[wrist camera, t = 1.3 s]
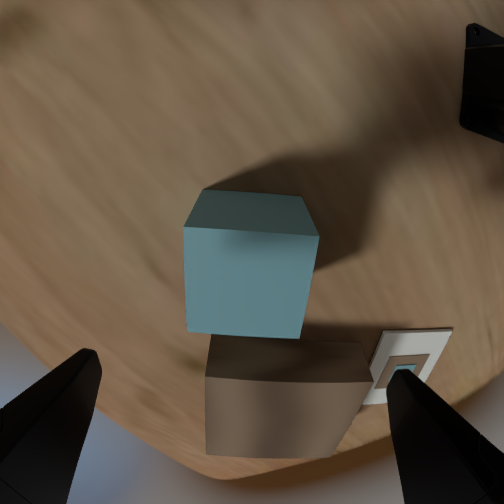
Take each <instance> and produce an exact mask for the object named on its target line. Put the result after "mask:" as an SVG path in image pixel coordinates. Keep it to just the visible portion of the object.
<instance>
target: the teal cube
mask: <svg viewBox="0 0 504 504" xmlns="http://www.w3.org/2000/svg"><path fill="white" fill-rule="evenodd" d="M319 237H320V236H319V234H318V232H317V230H316V227H315V225H314V223H313V221H312V218H311V216H310V214H309V212H308V209H307V207H306V205H305V203H304V201H303V199H302V197H301V196H290V195H278V194H266V193H253V192H239V191H223V190H206V189H203V190H202V192H201V194H200V195H199V197H198V199H197V201H196V203H195V205H194V207H193V209H192V211H191V213H190V215H189V217H188V219H187V221H186V223H185V225H184V273H185V300H186V320H187V332H196V333H208V334H220V335H234V336H250V337H269V338H293V339H299V338H300V334H301V329H302V324H303V320H304V315H305V310H306V305H307V300H308V295H309V290H310V285H311V280H312V275H313V270H314V264H315V259H316V254H317V248H318V242H319Z"/></svg>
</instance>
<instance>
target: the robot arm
mask: <svg viewBox="0 0 504 504" xmlns="http://www.w3.org/2000/svg"><path fill="white" fill-rule="evenodd" d="M473 29H475V31H476V34H475V33H474V31H473ZM462 90H463V93H462V102H461V110H460V118H459V122H460V125H461V126H462V128H464V129H466V130H469V131H472V132H475V133H478V134H481V135H483V136H486V137H489V138H491V139H494V140H497V141H499V142H502V143H504V38H502V37H500V36H498V35H497V34H495V33H493V32H491V31H489V30H488V29H486V28H484V27H482V26H480V25H478V24H476V23H472V24H468V25H467V27H466V49H465V59H464V74H463V86H462ZM467 118H469V124H467ZM101 377H102V368H101V364H100V361H99V358H98V355H97V352H96V351H95V350H92V349H87V348H83V349H81V350H79V351H78V352H77V353H75V354H74V355H72V356H71V357H70V358H68V359H67V360H66V361H64V362H63V363H61V364H60V365H59V366H57V367H56V368H55V369H53V370H52V371H51V372H49V373H48V374H47V375H45V376H44V377H42V378H41V379H40V380H38V381H37V382H36V383H34V384H33V385H32V386H30V387H29V388H28V389H26V390H25V391H24V392H22V393H21V394H20V395H18V396H17V397H16V398H14V399H13V400H12V401H10V402H9V403H7V404H6V405H5V406H4V407H3V408H1V409H0V504H66V503H67V499H68V495H69V491H70V488H71V484H72V480H73V477H74V473H75V470H76V467H77V463H78V460H79V457H80V453H81V450H82V447H83V444H84V441H85V438H86V434H87V432H88V428H89V425H90V422H91V419H92V416H93V411H94V407H95V402H96V398H97V394H98V389H99V385H100V381H101ZM386 397H387V404H388V413H389V421H390V430H391V436H392V441H393V446H394V450H395V455H396V460H397V465H398V470H399V475H400V480H401V485H402V491H403V497H404V502H405V504H504V453H503V452H501V451H500V450H499V449H498V448H496V447H495V446H494V445H493V444H492V443H491V442H490V441H488V440H487V439H486V438H485V437H484V436H483V435H480V432H478V431H477V430H476V429H475V428H474V427H473V426H472V425H471V424H470V423H469V422H467V421H466V420H465V419H464V418H463V417H462V416H461V415H460V414H459V413H458V412H456V411H455V410H454V409H453V408H452V407H451V406H450V405H449V404H448V403H446V402H445V401H444V400H443V399H442V398H441V397H440V396H439V395H438V394H436V393H435V392H434V391H433V390H432V389H431V388H430V387H429V386H427V385H426V384H425V383H424V382H423V381H422V380H421V379H420V378H419V377H417V376H416V375H415V374H414V373H413V372H412V371H411V370H409V369H397V370H396V371H395V372H394V374H393V376H392V378H391V379H390V381H389V383H388V385H387V388H386Z"/></svg>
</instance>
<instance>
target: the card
mask: <svg viewBox="0 0 504 504" xmlns="http://www.w3.org/2000/svg"><path fill="white" fill-rule="evenodd" d="M451 333H452V330H451V329H433V330H392V331H383V332H382V335H381V338H380V340H379V343H378V345H377V347H376V350H375V352H374V355H373V357H372V359H371V362H370V364H369V368H370V371H371V374H372V377H373V380H374V383H373V385H372V387H371V389H370V391H369V392H368V394H367V396H366V398H365V400H364V402H363V403H362V405H367V404H380V403H387V397H386V388H387V385H388V383H389V381H390V379H391V378H392V376H393V374H394V372H395V371H396V370H397V369H409V370H411V371H412V372H413V373H414V374H415V375H416V376H417V377H419V378H420V379H421V380H422V381H423V382H424V383H425V381H426V379H427V377H428V376H429V374H430V372H431V371H432V369H433V367H434V365H435V363H436V362H437V360H438V358H439V356H440V354H441V352H442V351H443V349H444V347H445V345H446V343H447V341H448V339H449V337H450V335H451Z"/></svg>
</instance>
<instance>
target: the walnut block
mask: <svg viewBox="0 0 504 504" xmlns="http://www.w3.org/2000/svg"><path fill="white" fill-rule="evenodd" d="M373 383H374V380H373V377H372V374H371V371H370V368H369V366H368V363H367V360H366V357H365V354H364V351H363V349H362V346H361V343H360V342H324V341H299V340H280V339H264V338H250V337H238V336H226V335H216V334H211V340H210V347H209V353H208V360H207V366H206V373H205V429H206V454H208V455H218V456H231V457H247V458H322V457H331V455H332V454H333V452H334V451H335V449H336V447H337V446H338V444H339V443H340V441H341V439H342V438H343V436H344V435H345V433H346V431H347V430H348V428H349V426H350V425H351V423H352V421H353V419H354V418H355V416H356V414H357V412H358V411H359V409H360V407H361V405H362V403H363V402H364V400H365V398H366V396H367V394H368V392H369V391H370V389H371V387H372V385H373Z"/></svg>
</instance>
